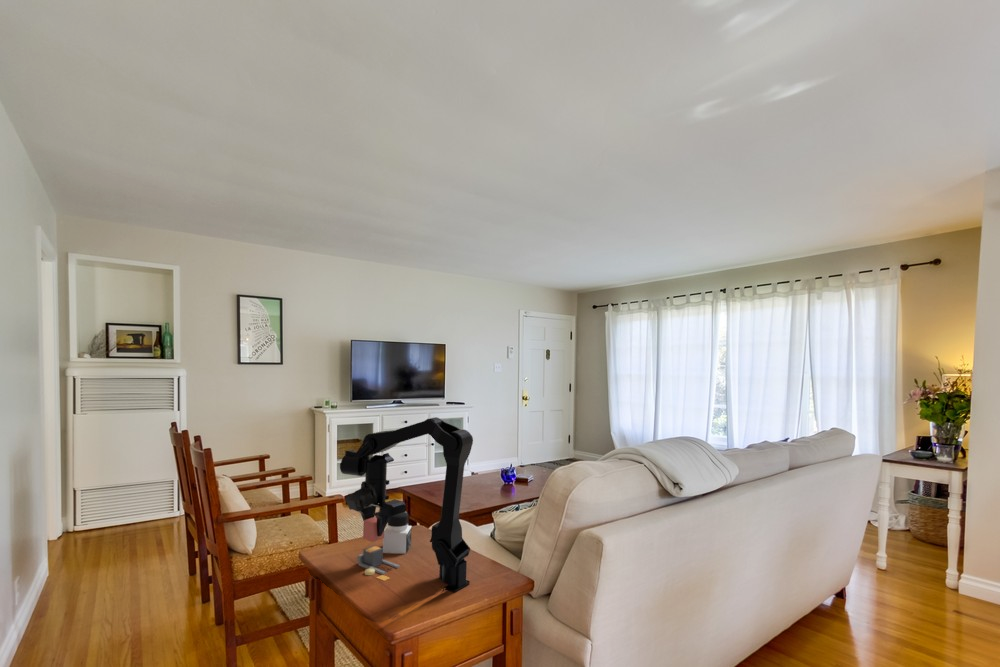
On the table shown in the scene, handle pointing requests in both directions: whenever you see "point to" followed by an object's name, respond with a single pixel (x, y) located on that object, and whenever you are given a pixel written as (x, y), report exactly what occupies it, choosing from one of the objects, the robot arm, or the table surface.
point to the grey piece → (372, 570)
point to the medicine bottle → (397, 534)
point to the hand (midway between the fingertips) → (374, 534)
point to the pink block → (371, 530)
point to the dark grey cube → (373, 556)
